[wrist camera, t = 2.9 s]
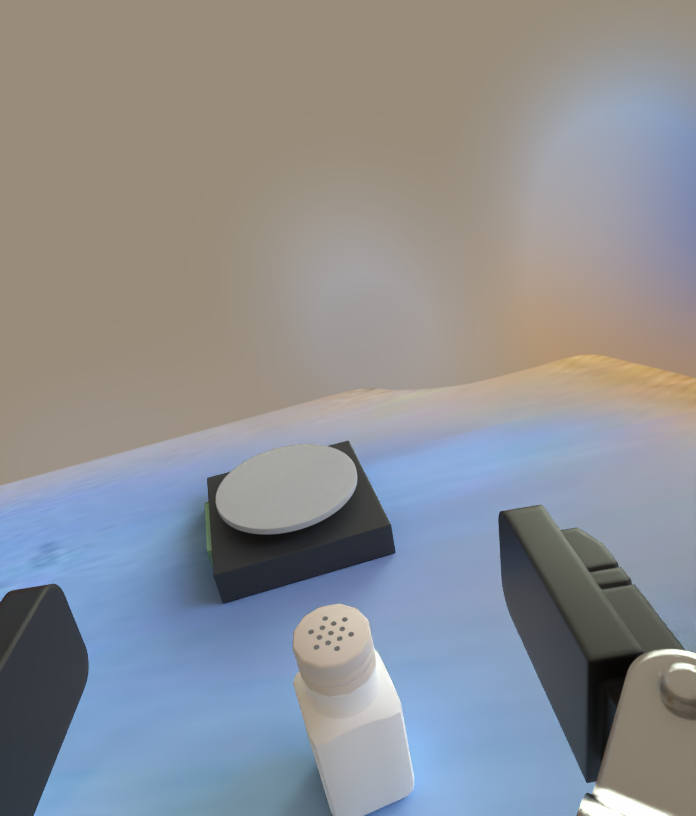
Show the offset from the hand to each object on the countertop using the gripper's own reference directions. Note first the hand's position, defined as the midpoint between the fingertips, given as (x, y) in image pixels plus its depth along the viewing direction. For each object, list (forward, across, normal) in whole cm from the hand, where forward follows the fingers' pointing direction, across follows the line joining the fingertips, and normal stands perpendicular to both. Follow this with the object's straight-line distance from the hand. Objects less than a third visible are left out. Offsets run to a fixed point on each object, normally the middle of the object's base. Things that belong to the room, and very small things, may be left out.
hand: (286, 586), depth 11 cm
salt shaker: (+11, 0, +20) cm, 23 cm away
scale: (+31, +3, +19) cm, 36 cm away
